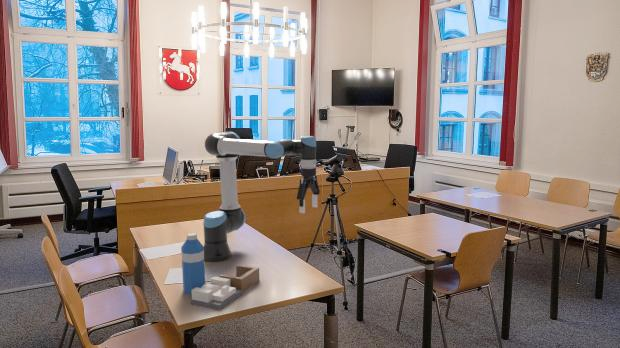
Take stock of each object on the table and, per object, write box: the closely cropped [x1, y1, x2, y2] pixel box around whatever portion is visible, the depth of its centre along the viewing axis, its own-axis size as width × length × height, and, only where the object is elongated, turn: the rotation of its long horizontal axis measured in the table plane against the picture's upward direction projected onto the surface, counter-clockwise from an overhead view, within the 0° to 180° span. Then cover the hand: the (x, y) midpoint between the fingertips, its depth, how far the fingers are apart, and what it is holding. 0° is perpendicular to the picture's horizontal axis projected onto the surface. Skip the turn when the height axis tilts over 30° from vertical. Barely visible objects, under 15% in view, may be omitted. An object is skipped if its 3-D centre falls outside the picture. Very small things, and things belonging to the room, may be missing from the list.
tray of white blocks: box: [190, 276, 243, 311], centre depth 190 cm, size 14×16×10 cm
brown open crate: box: [219, 264, 260, 293], centre depth 204 cm, size 11×15×6 cm
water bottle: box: [180, 232, 206, 296], centre depth 197 cm, size 9×9×25 cm
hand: (308, 210), depth 229 cm, fingers open, 13 cm apart
